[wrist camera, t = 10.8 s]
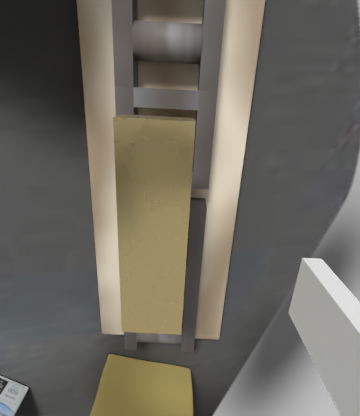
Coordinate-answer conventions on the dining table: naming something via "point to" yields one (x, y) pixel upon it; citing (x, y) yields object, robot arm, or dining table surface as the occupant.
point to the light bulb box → (11, 396)
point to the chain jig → (171, 107)
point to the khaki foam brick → (153, 218)
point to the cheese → (143, 389)
